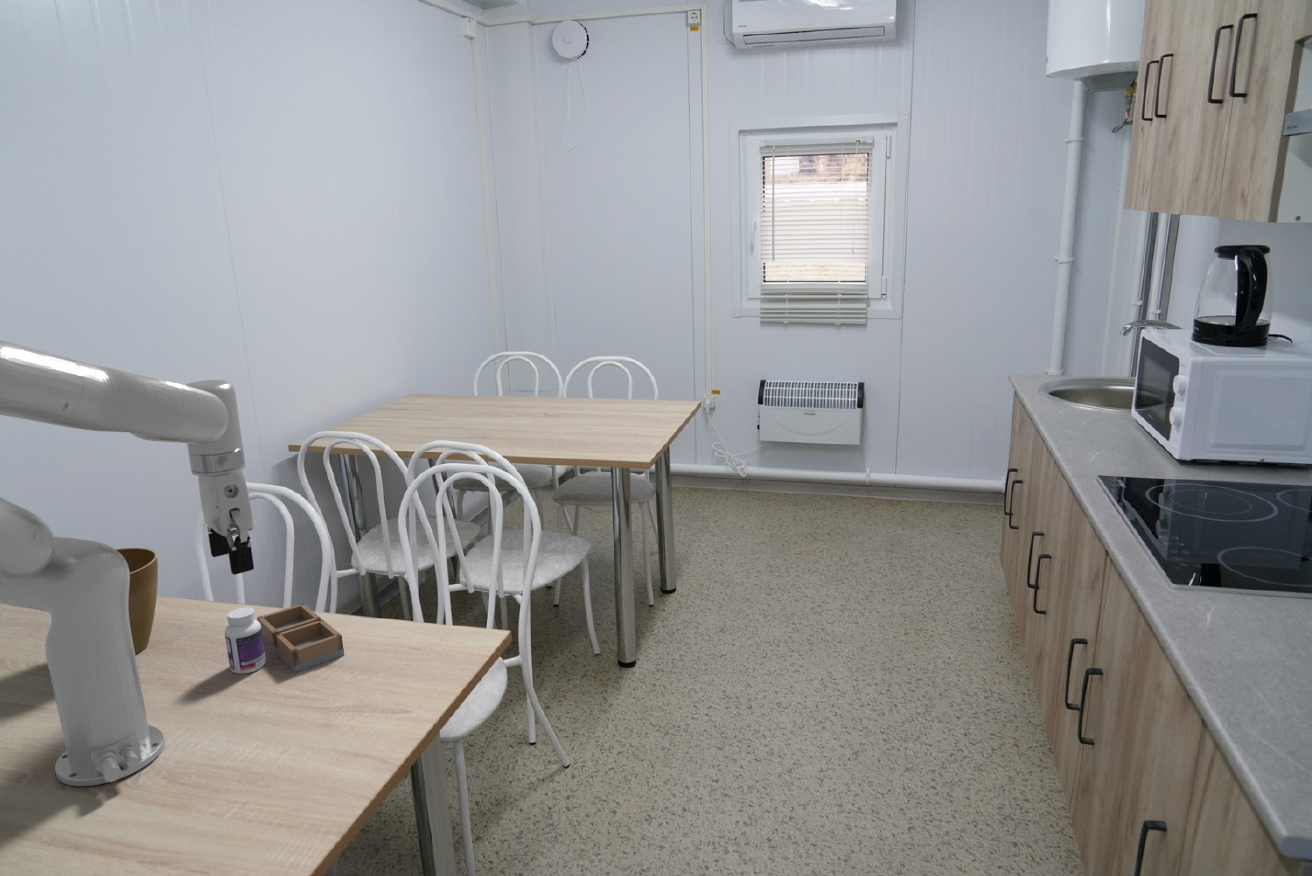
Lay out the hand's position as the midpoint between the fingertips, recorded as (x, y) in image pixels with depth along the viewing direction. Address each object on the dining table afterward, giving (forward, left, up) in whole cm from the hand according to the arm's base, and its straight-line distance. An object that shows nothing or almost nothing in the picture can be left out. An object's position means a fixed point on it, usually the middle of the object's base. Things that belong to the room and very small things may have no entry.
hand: (232, 562), depth 135 cm
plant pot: (+21, +14, -19) cm, 31 cm away
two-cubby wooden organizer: (+1, -9, -18) cm, 21 cm away
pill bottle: (0, 0, -19) cm, 19 cm away
